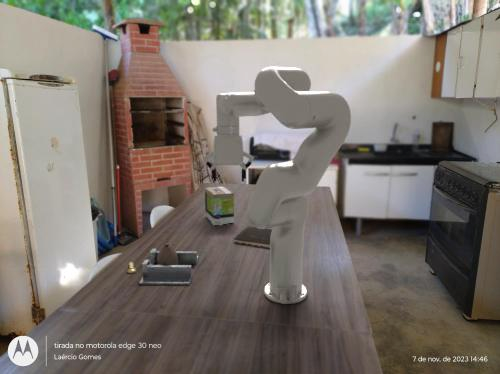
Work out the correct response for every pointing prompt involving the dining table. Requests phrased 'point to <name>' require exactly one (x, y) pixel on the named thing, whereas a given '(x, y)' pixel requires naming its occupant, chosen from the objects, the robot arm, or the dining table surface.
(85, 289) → the dining table surface
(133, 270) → the brass key
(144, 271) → the bracket
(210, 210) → the tea box
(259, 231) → the hardcover book
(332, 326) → the dining table surface
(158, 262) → the vase
